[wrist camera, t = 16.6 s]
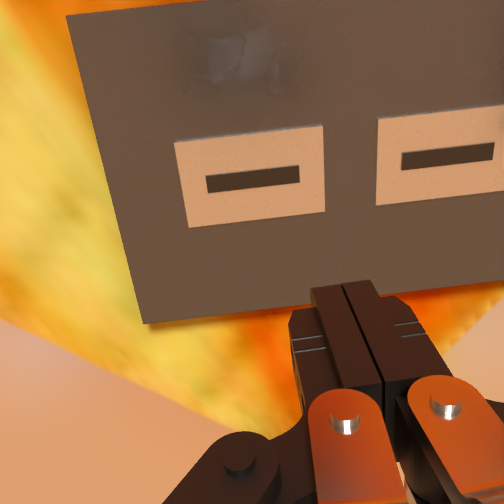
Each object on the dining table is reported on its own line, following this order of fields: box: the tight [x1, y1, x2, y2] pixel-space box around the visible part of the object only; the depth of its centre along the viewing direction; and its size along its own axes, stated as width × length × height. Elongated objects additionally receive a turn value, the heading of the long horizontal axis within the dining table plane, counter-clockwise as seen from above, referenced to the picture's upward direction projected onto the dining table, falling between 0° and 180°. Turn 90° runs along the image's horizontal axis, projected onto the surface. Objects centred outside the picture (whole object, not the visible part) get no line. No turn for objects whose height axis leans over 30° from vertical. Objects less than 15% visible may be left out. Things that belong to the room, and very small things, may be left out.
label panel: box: [66, 0, 504, 324], centre depth 28 cm, size 28×18×2 cm, turn 96°
